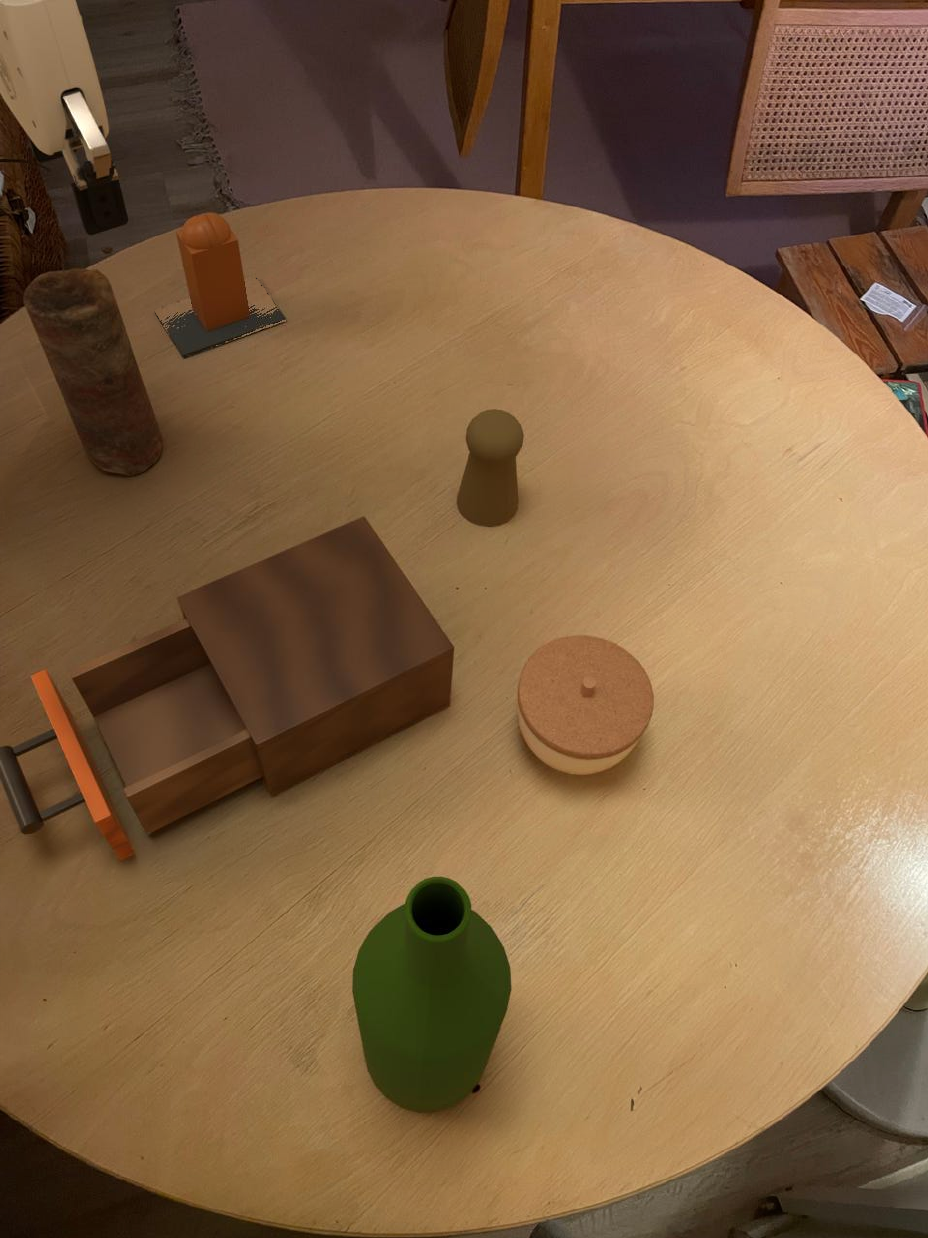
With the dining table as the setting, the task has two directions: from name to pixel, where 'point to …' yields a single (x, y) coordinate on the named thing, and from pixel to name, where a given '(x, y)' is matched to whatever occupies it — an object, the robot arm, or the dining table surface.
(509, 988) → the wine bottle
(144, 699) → the drawer
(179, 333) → the mat
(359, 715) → the cabinet
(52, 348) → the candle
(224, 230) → the tall orange block
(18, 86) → the robot arm
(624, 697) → the trinket box
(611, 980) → the dining table surface
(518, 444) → the chess pawn piece
